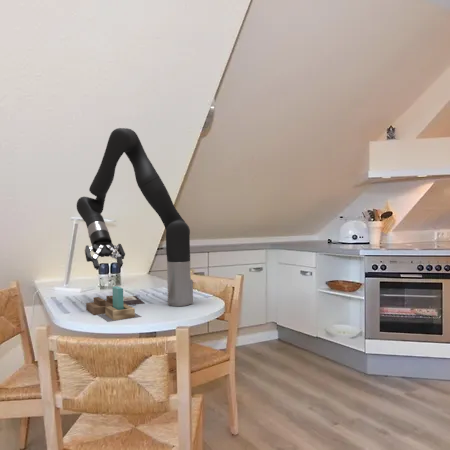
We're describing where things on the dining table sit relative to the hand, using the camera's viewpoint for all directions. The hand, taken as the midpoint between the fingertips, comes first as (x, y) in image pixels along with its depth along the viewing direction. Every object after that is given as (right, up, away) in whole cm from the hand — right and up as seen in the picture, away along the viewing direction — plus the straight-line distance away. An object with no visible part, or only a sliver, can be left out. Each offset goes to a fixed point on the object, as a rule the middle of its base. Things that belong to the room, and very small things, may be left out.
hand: (109, 267), depth 161 cm
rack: (+5, -16, -8) cm, 19 cm away
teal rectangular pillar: (+5, -16, -8) cm, 19 cm away
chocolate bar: (+3, -17, +20) cm, 26 cm away
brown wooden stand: (-2, -17, +1) cm, 17 cm away
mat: (+5, -17, -8) cm, 19 cm away
